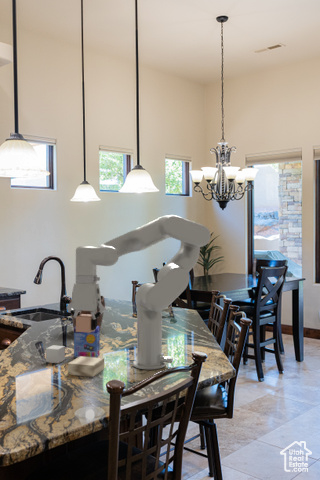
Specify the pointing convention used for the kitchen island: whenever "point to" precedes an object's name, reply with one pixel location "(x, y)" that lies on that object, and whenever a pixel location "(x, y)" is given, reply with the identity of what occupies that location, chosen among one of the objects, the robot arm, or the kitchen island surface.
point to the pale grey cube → (55, 354)
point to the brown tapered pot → (99, 319)
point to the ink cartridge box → (87, 343)
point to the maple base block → (86, 366)
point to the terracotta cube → (83, 323)
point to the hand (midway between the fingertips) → (85, 328)
